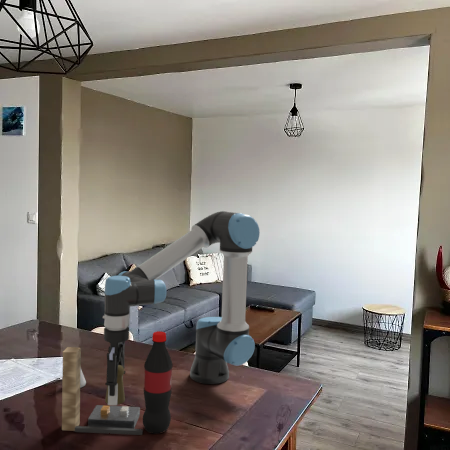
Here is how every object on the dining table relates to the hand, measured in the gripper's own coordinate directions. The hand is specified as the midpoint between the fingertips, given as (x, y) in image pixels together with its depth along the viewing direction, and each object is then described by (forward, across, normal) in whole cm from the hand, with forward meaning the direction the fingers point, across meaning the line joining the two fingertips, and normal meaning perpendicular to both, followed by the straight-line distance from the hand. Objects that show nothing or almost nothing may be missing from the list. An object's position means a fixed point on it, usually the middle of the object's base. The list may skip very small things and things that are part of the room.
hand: (115, 399), depth 147 cm
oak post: (+7, +5, -12) cm, 15 cm away
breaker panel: (+7, 0, 0) cm, 7 cm away
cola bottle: (+7, +4, +14) cm, 16 cm away
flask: (+7, -24, -20) cm, 32 cm away
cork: (0, 0, 0) cm, 0 cm away
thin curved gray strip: (+7, +7, 0) cm, 10 cm away
